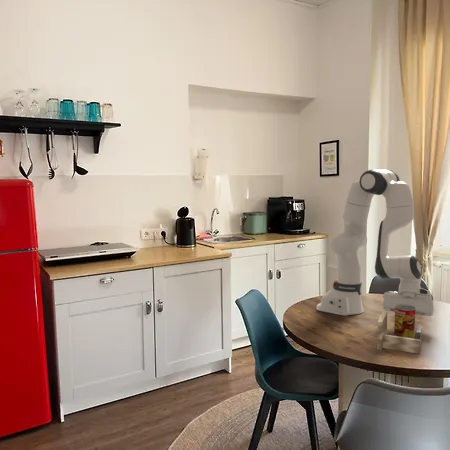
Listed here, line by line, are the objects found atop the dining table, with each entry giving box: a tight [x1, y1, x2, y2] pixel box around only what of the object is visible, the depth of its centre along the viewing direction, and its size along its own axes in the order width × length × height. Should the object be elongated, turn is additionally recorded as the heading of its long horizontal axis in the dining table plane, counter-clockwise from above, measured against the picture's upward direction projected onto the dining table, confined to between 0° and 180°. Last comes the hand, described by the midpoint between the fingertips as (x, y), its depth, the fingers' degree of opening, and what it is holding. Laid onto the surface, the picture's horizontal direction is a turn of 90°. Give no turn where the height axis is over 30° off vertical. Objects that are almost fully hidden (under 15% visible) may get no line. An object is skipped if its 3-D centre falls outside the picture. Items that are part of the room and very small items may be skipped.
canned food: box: [393, 304, 416, 339], centre depth 180 cm, size 8×8×12 cm
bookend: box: [415, 325, 423, 349], centre depth 168 cm, size 1×8×7 cm, turn 152°
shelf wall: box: [376, 310, 421, 354], centre depth 168 cm, size 14×14×11 cm
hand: (406, 321), depth 184 cm, fingers closed
